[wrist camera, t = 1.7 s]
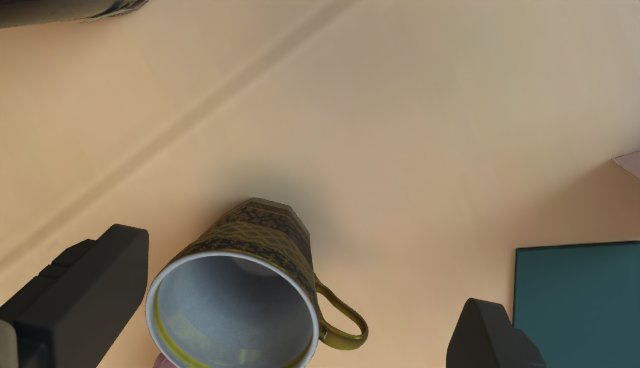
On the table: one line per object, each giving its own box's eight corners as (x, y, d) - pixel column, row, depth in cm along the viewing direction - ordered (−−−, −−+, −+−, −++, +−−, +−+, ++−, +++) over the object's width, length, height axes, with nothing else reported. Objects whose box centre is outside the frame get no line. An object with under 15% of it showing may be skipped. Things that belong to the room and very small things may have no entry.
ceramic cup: (194, 273, 37) (139, 369, 28) (209, 161, 32) (149, 231, 23) (350, 310, 37) (346, 418, 28) (385, 204, 33) (394, 289, 24)
